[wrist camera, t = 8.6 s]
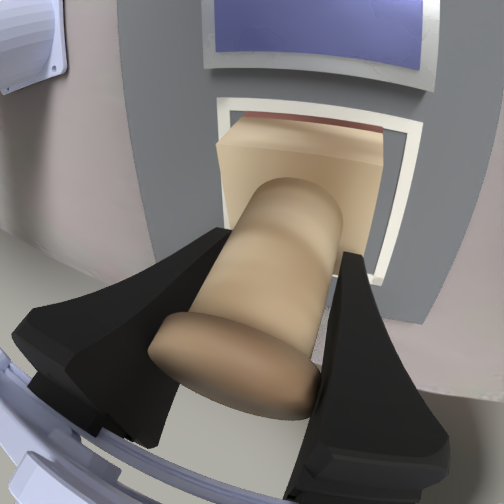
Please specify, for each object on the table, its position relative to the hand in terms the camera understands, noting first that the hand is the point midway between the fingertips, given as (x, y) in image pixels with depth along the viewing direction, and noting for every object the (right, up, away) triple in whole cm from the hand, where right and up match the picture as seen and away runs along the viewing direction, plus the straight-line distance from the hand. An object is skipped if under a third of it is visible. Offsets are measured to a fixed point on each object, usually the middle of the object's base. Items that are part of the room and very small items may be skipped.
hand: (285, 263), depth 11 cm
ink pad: (+1, +11, -3) cm, 12 cm away
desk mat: (+1, +10, 0) cm, 10 cm away
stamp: (+1, +4, +1) cm, 4 cm away
